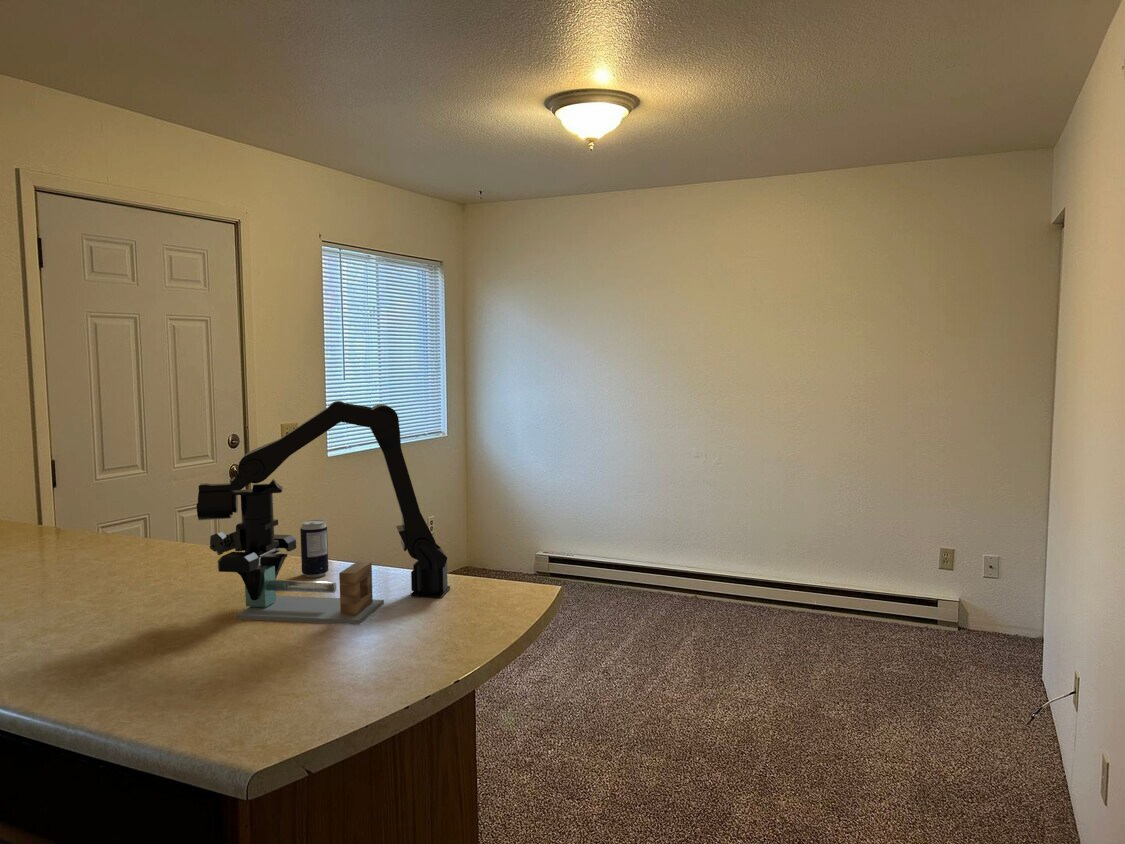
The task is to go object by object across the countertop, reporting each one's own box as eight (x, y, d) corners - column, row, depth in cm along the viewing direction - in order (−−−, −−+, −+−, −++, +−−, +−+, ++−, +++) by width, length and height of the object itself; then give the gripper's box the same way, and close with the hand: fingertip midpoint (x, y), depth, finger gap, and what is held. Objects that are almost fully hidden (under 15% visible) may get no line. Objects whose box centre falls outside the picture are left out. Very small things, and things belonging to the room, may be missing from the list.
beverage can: (332, 571, 177) (330, 519, 176) (322, 578, 172) (320, 524, 171) (308, 571, 178) (306, 519, 177) (297, 578, 172) (295, 524, 171)
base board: (384, 603, 154) (383, 599, 154) (359, 624, 142) (359, 620, 142) (269, 599, 157) (269, 595, 157) (236, 619, 145) (236, 614, 145)
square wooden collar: (372, 602, 152) (371, 562, 151) (356, 616, 144) (354, 573, 143) (358, 602, 152) (356, 561, 152) (340, 615, 144) (339, 573, 144)
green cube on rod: (339, 603, 151) (338, 567, 150) (330, 609, 147) (328, 573, 146) (257, 600, 153) (255, 564, 153) (245, 606, 149) (244, 570, 149)
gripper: (244, 506, 160) (248, 581, 161) (188, 526, 142) (192, 610, 143) (296, 507, 158) (299, 583, 160) (246, 527, 140) (249, 612, 141)
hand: (260, 596), depth 151 cm, fingers open, 4 cm apart
